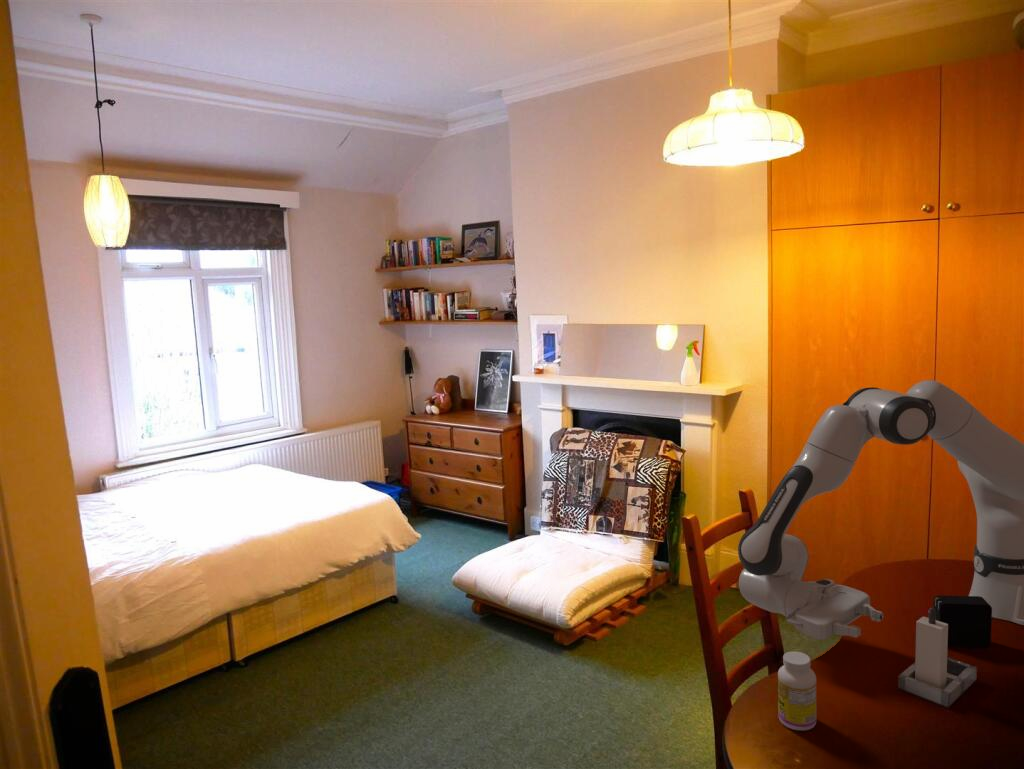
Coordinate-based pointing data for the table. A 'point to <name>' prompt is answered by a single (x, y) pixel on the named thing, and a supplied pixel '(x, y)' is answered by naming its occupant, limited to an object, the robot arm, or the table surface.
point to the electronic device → (965, 620)
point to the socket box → (956, 685)
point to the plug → (931, 651)
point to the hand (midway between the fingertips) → (870, 625)
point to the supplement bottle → (797, 692)
